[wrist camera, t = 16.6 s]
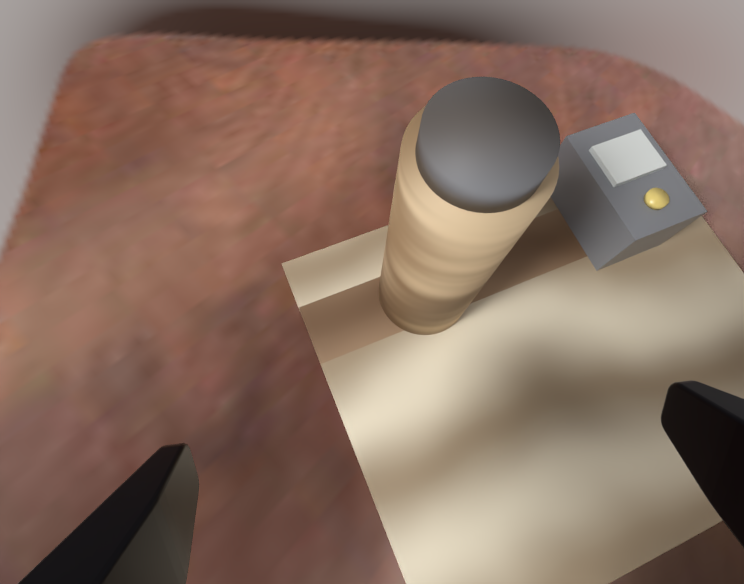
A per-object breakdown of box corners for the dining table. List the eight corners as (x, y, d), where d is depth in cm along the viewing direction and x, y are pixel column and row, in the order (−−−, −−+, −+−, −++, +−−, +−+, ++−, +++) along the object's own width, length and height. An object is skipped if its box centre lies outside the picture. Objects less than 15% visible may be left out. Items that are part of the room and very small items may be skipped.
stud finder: (659, 244, 25) (712, 208, 21) (596, 271, 24) (639, 237, 20) (599, 155, 26) (638, 108, 23) (539, 177, 26) (569, 132, 22)
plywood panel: (849, 441, 22) (867, 441, 22) (438, 666, 19) (442, 675, 18) (633, 142, 28) (641, 133, 27) (283, 269, 24) (281, 263, 23)
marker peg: (481, 316, 23) (608, 174, 12) (399, 348, 22) (449, 230, 11) (443, 240, 24) (524, 48, 13) (365, 268, 24) (378, 90, 12)
